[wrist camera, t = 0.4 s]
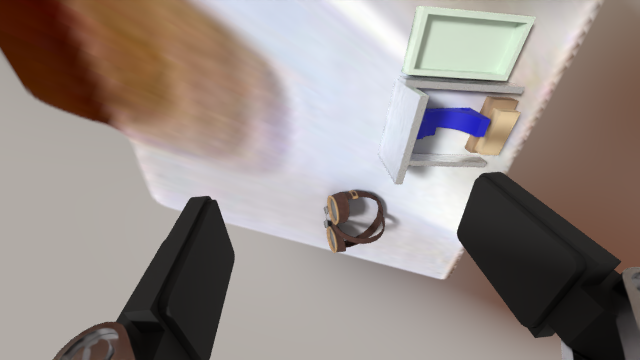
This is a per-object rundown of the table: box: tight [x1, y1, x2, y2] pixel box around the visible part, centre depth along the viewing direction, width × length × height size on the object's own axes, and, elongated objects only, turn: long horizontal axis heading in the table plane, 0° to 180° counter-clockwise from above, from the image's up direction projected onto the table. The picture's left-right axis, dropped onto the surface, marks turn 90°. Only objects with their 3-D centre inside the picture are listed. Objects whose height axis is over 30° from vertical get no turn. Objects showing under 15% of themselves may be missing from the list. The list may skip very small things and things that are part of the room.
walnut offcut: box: [465, 96, 518, 153], centre depth 46 cm, size 10×4×2 cm, turn 176°
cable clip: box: [416, 108, 491, 139], centre depth 43 cm, size 12×4×6 cm, turn 90°
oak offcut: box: [475, 108, 520, 155], centre depth 45 cm, size 8×4×2 cm, turn 176°
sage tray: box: [402, 6, 536, 81], centre depth 38 cm, size 9×17×2 cm, turn 86°
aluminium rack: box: [378, 76, 525, 184], centre depth 42 cm, size 15×21×10 cm
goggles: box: [324, 190, 385, 253], centre depth 54 cm, size 15×13×10 cm
